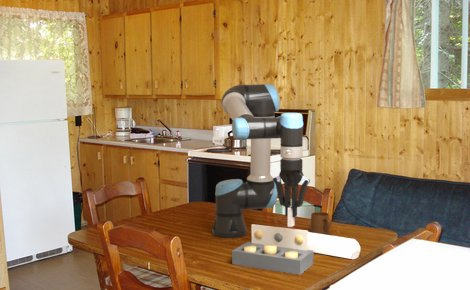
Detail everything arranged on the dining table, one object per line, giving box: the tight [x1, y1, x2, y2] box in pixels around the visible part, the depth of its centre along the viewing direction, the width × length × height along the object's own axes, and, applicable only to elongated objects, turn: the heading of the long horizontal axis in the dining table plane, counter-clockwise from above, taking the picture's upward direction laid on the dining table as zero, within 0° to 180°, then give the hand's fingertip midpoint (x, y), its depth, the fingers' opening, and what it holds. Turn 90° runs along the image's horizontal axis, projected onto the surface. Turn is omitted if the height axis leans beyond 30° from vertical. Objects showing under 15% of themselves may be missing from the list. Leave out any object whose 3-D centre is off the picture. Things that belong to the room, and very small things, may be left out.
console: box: [231, 223, 314, 276], centre depth 192 cm, size 26×13×12 cm, turn 62°
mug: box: [310, 211, 332, 235], centre depth 228 cm, size 12×8×9 cm, turn 21°
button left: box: [244, 245, 256, 252], centre depth 194 cm, size 4×4×4 cm
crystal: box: [308, 231, 361, 260], centre depth 204 cm, size 7×7×24 cm
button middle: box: [264, 244, 277, 255], centre depth 190 cm, size 4×4×4 cm
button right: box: [285, 251, 298, 258], centre depth 187 cm, size 4×4×4 cm
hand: (291, 225), depth 186 cm, fingers closed
